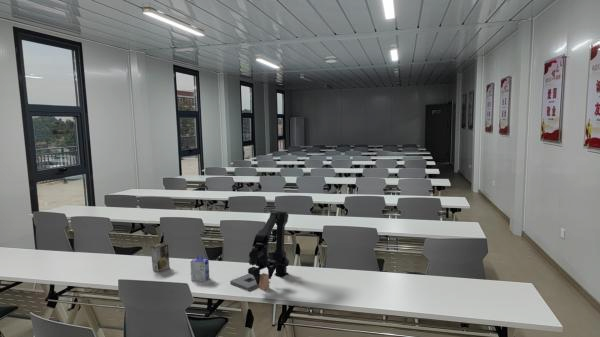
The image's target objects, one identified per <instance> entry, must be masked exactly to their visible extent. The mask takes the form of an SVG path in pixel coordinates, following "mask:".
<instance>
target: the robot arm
mask: <svg viewBox="0 0 600 337" xmlns="http://www.w3.org/2000/svg"><path fill="white" fill-rule="evenodd" d="M288 220H289V214H288V211H280V210H279V211H278V210H277V211H276V212H275V211H273V212H270V214H269V217H268V219H267V220H266V222H265V225H264V226H263V228H262V229H260V230H259V231H258V232H257V233H256V234H255V236H254V239H253V243H252V248H251V251H250V252H249V254H248V257H249V259H248V264H249V265H250V266H252V267H249V268H248V269H247V274H251V275H253V276H254V278H255V280H256V283H257V284H259V281H260V274H261V270H264V269H267V274H268V275H269V280H271V279H272V277H273V274H274V276H277V277H280V278H283V277H285V276H287V275H289V272H287V271H288V270H287V269H288V268H287V267H289V265H290V260H289V259H288V258H287V253H286V250H285V232H286V231H285V230H286V229H285V228H286V225H287V223H288ZM275 225H276V239H275V240H276V241H275V243H276V244H275V250H274V251H273V252H272V259H270V258H271V257H270V256H269V253H268V252H269V246H270V244H269V242H270V240H271V233H272V230H273V229H274V227H275ZM274 272H275V273H274Z"/></svg>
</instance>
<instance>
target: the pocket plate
mask: <svg viewBox="0 0 600 337" xmlns="http://www.w3.org/2000/svg"><path fill="white" fill-rule="evenodd" d="M229 282H230V285H232V286H235V287H237V288H240V289H242V290H245V291H248V292H249V291H252V290H254V289H256V288H259V284H257V283H256V280H255V278H254V276H253V275H251V274H249V273H246V274H244V275H241V276H239V277H237V278H234V279H232V280H230V281H229Z"/></svg>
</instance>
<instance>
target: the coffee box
mask: <svg viewBox="0 0 600 337" xmlns="http://www.w3.org/2000/svg"><path fill="white" fill-rule="evenodd" d="M150 252H151V254H150V255H151V265H152V268H151V269H152V271H155V272H157V273H159V272H162V271H163V270H167V269H170V266H171V265H170V257H169V255H170V254H169V244H167V243H164V242H161V243H158V244H155V245H152V246H150Z"/></svg>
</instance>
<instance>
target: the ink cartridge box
mask: <svg viewBox="0 0 600 337" xmlns="http://www.w3.org/2000/svg"><path fill="white" fill-rule="evenodd" d="M189 263H190V279H191V280H190V281H194V282H195V281H196V282H198V281H199V282H207V281H208V280H209V279H210V264H209V263H210V262H209V258H204V255H197V258H193V259H192V260H191V261H190V262H189Z"/></svg>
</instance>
